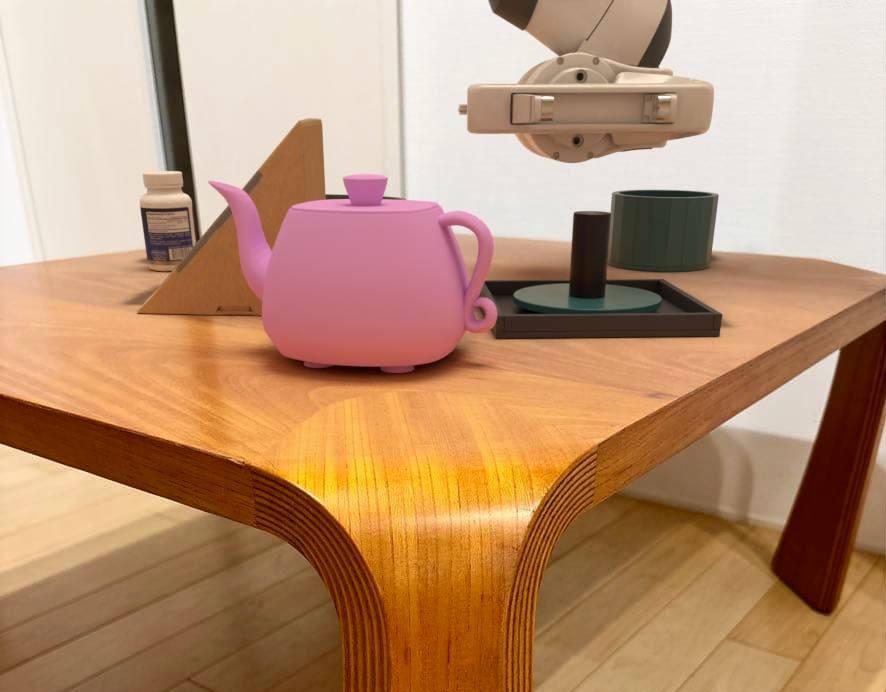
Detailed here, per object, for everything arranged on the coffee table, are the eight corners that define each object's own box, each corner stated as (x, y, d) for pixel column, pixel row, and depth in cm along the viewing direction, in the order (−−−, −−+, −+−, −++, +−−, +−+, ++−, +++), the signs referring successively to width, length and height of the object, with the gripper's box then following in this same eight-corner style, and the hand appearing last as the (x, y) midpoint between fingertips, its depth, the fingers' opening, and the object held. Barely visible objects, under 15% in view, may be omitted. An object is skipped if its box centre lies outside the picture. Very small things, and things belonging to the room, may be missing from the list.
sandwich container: (167, 295, 85) (146, 117, 78) (331, 297, 84) (322, 118, 77) (133, 313, 77) (106, 117, 70) (313, 316, 76) (302, 118, 70)
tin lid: (639, 296, 82) (647, 205, 79) (678, 324, 71) (690, 220, 68) (504, 297, 82) (507, 206, 78) (523, 325, 70) (527, 221, 67)
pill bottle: (159, 264, 102) (147, 170, 98) (206, 264, 102) (196, 170, 98) (140, 271, 97) (126, 173, 93) (188, 272, 97) (177, 173, 93)
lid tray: (661, 297, 84) (663, 278, 84) (719, 336, 70) (722, 313, 69) (476, 299, 83) (476, 280, 83) (495, 338, 69) (496, 315, 68)
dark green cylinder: (692, 256, 109) (699, 189, 106) (724, 271, 99) (733, 197, 95) (597, 257, 108) (602, 189, 105) (620, 272, 98) (626, 197, 95)
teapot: (513, 342, 67) (518, 171, 62) (475, 390, 56) (479, 184, 51) (262, 328, 72) (248, 166, 67) (178, 370, 60) (154, 178, 55)
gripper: (456, 69, 80) (469, 61, 67) (686, 69, 81) (742, 61, 68) (455, 148, 82) (468, 154, 70) (679, 146, 83) (731, 152, 71)
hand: (606, 108), depth 69 cm, fingers open, 8 cm apart
